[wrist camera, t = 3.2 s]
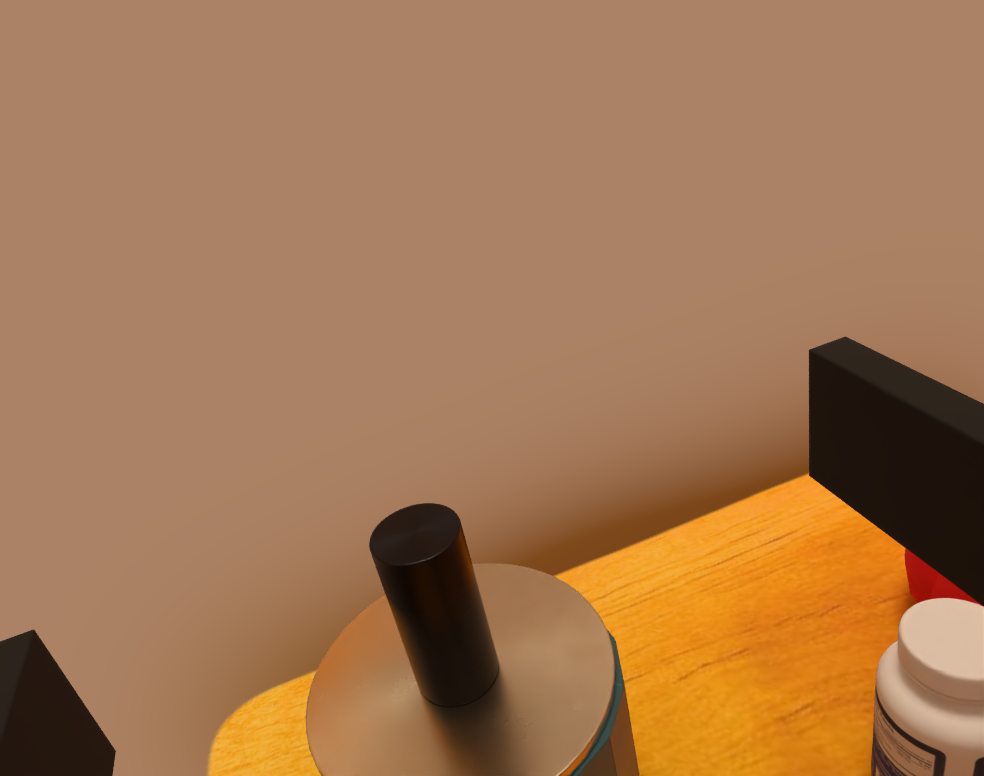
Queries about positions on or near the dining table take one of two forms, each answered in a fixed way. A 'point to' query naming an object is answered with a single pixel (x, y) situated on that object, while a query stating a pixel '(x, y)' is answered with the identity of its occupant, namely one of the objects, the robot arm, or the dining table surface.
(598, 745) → the tin
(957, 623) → the pill bottle
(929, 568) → the tomato
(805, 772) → the dining table surface
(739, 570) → the dining table surface
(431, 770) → the lid
